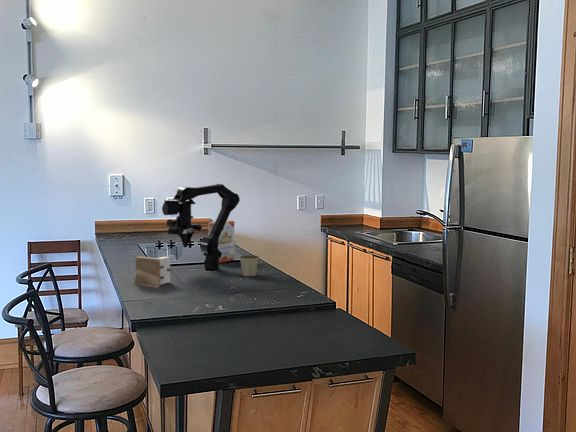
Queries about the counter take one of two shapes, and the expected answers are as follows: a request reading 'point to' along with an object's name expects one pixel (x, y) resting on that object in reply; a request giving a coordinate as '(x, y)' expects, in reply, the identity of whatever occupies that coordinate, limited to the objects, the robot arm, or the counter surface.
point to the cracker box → (225, 241)
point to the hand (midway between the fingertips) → (185, 247)
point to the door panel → (165, 270)
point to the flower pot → (249, 264)
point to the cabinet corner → (148, 272)
